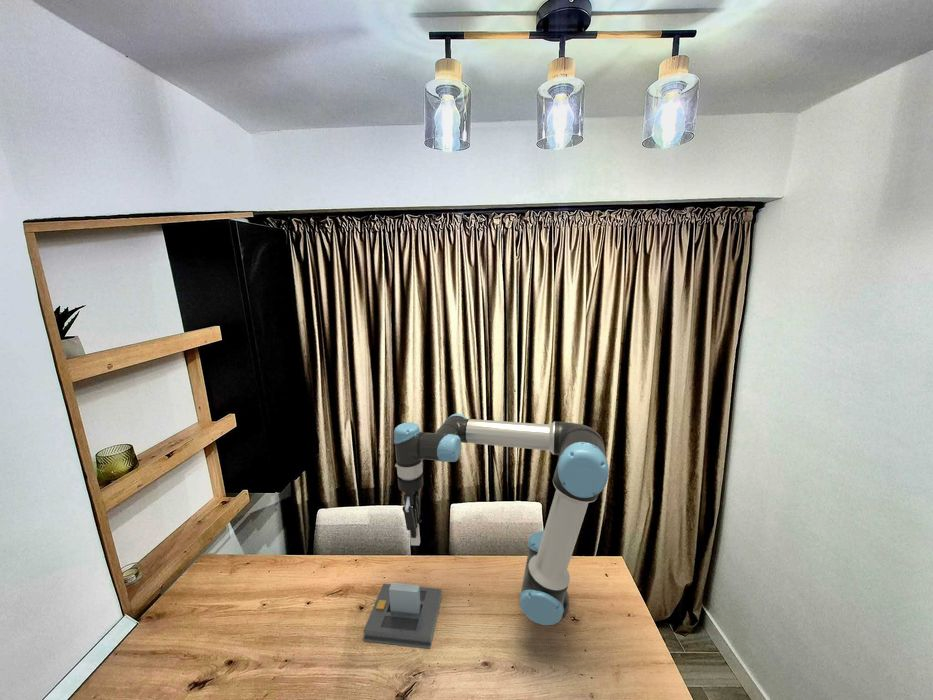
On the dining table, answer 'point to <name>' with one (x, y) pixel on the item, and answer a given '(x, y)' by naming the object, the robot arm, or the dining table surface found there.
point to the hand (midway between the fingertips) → (415, 543)
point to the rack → (403, 621)
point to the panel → (405, 598)
